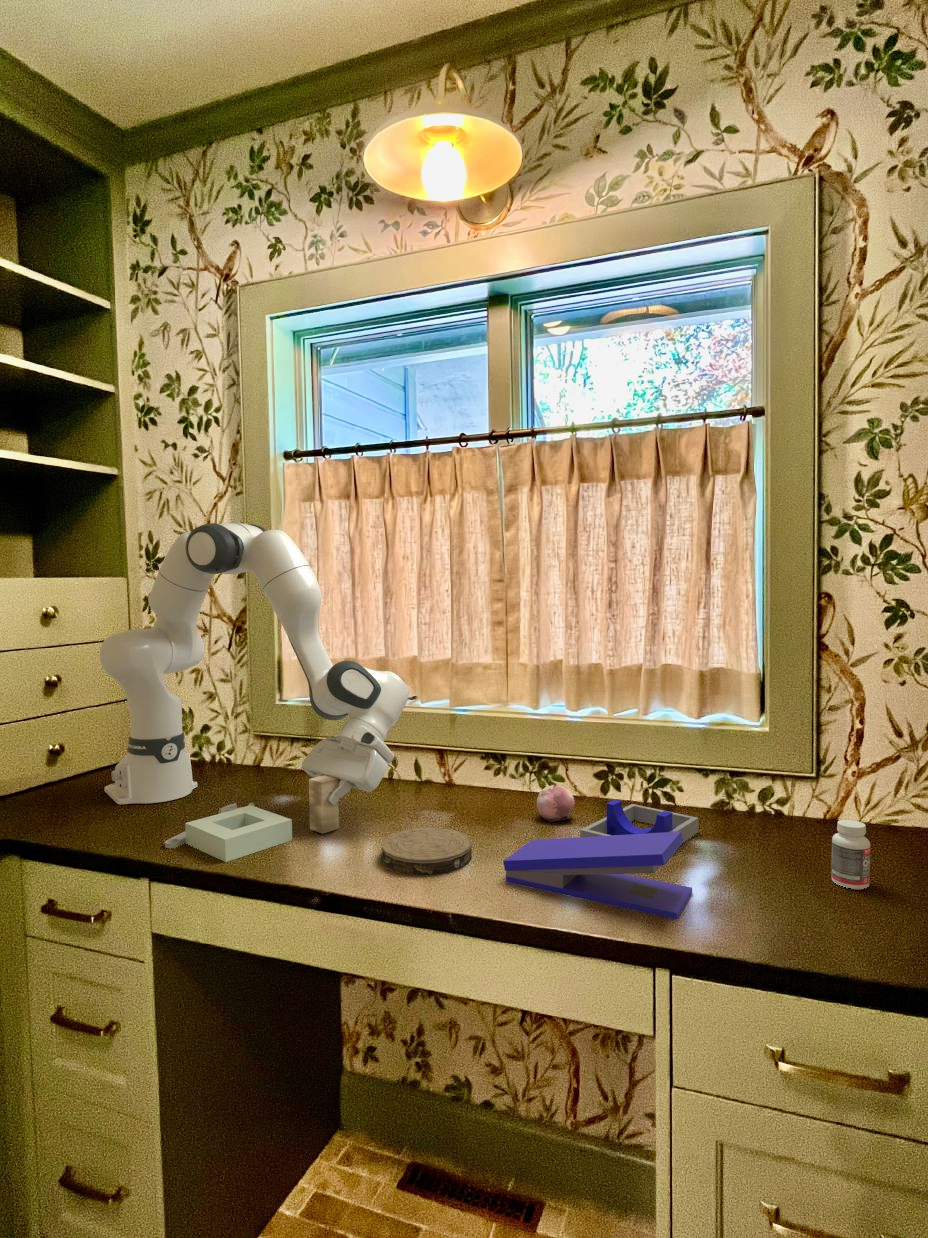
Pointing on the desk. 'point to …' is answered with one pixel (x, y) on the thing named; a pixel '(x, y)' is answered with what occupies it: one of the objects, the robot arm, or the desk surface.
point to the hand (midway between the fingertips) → (321, 800)
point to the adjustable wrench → (181, 837)
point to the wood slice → (426, 851)
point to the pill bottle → (851, 855)
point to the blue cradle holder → (623, 826)
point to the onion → (555, 803)
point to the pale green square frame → (238, 832)
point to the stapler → (603, 870)
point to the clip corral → (646, 815)
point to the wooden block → (323, 804)
